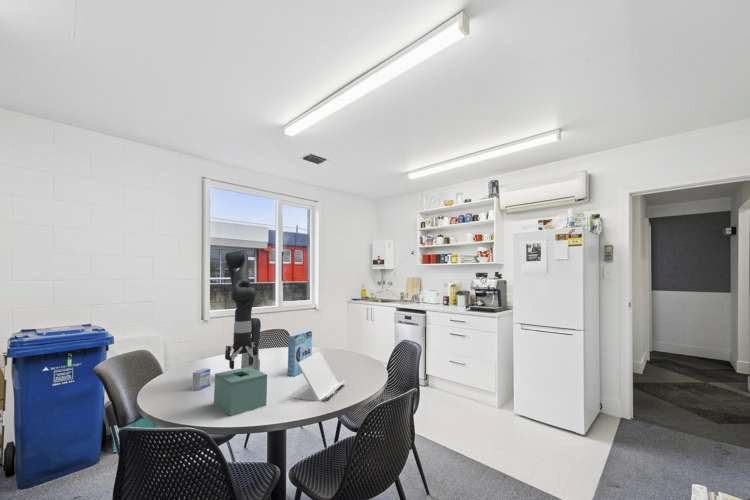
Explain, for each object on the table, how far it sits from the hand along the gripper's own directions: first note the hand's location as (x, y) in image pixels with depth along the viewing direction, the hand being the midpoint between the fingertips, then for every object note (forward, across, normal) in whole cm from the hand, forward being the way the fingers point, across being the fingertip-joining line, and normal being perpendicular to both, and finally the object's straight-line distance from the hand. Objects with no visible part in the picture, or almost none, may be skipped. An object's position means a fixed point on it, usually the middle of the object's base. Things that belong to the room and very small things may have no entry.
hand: (241, 367), depth 151 cm
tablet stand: (+17, -36, +11) cm, 42 cm away
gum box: (+17, -48, -25) cm, 57 cm away
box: (+17, 0, 0) cm, 17 cm away
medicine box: (+17, +4, -37) cm, 41 cm away
